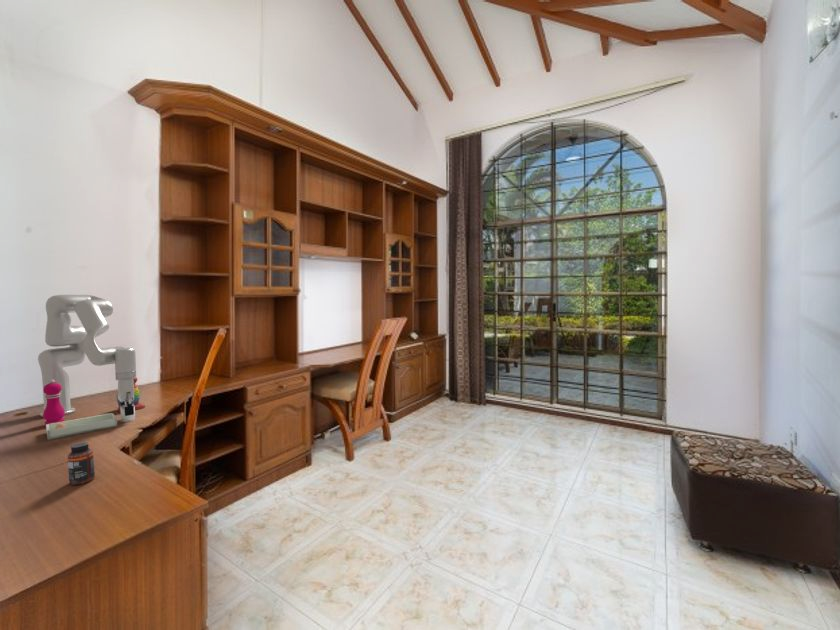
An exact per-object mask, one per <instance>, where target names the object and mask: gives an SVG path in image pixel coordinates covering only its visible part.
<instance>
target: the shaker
mask: <svg viewBox="0 0 840 630" xmlns="http://www.w3.org/2000/svg"><path fill="white" fill-rule="evenodd" d="M133 406H134V414H133V415H129V416H125V405H122V406H120V411H119V412H120V422H121V423H130V422H133V421H135V420H136V410H135V405H134V404H133Z"/></svg>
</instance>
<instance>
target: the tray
mask: <svg viewBox="0 0 840 630" xmlns="http://www.w3.org/2000/svg"><path fill="white" fill-rule="evenodd" d="M59 423H64V424H65V425H66V427H65V428H59V429H56V425H57V424H59ZM117 427H118V418H117V417H116V415H115V414H114V412H110V413H103V414H99V415H93V416H86V417H81V418H76V419H71V420H69V419H68V420H64V421H63V422H58V423H52V424H46V426H45V428H46V429H45V430H46V438H47V440H48V441H49V440H55V439H59V438H65V437H68V436H70V437H71V436H74V435H79V434H80V435H81V434H85V433H91V432H95V431H100V430H106V429H110V428H111V429H112V428H117Z"/></svg>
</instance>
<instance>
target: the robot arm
mask: <svg viewBox="0 0 840 630" xmlns="http://www.w3.org/2000/svg"><path fill="white" fill-rule="evenodd" d="M45 311H46V317H47V318H46V325H45V327H46V328H45V338H44V341H45V344H46V345H47V346H48V347H54V348H50V349H46V350H43V351H41V352H39V354H38V356H37V361H38V364H39V367H40V371H41V379H42V381H41V382H42V383H41V384H42V389H43V388H44V386H45V385H47V384H50V382H49V381H50V380H55V382H54V383H58V384H60V385H61V387H62V390H61V391H60V392H59V393H61V394H60V395H61V396H60V398H59V400H60V404H61V406H62V407H63V408H64V410H65V415H68V414H72V413H74V412H75V411H76V408H75V407H72V406H71V389H70V376H69V374H68V372H67V371H66V370H65V369H64V368H65V367H72V366H79V365H81V364H82V363H83V362H84V360H85V358H86V357H87V359H88V361H89V362H90V363H91V364H92V365H93V366H97V367H98V366H99V367H100V366H106V365H107V366H108V365H113V364H114V370H115V371H114V373H115V381H117V392H118V400H119V401H120V402H122V403H121V406H122V405H125V416H129V415H133V414H134V406H133V400H134V381H133V379H135V378H137V363H136V362H137V361H136V350H135V348H133V347H124V346H111V347H102V348H99V346H98V345H97V343H96V338H97V337H100V336H101V335H103V334H105V333H106V332H107V331H108V330H109V329H110V325H109V324H108V321H107V320H106V317H107V318H108V317H110V316H111V315H113V311H114V307H113V304H112V303H111V302H110V301H109V300H107V299H104V298H102V297H98V296H95V295H90V294H56V295H52V296H50V297H48V299H47V300H46V302H45ZM69 313H70V314H71V313H76V316H77V318H78V319H79V321H80V323H81V325H82V326H80V325H71V323H72V317H71V315H70V314H69ZM42 395H43V397H42V398H43V411H42V412H40V413H39V416H40V417H42V418H43V413H44V410H45V408H46V405H47V398H45V397H46V396H45V395H46V394H45V393H44V392H43V391H42Z"/></svg>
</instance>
